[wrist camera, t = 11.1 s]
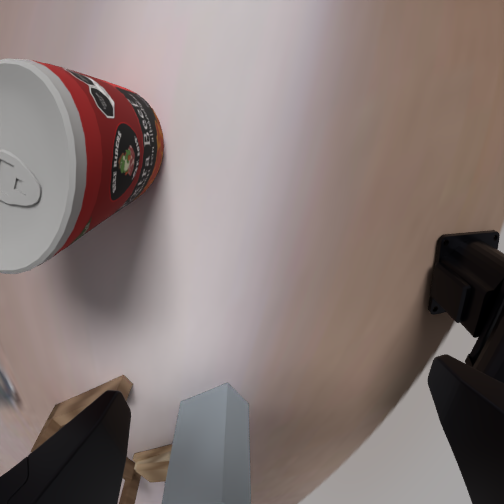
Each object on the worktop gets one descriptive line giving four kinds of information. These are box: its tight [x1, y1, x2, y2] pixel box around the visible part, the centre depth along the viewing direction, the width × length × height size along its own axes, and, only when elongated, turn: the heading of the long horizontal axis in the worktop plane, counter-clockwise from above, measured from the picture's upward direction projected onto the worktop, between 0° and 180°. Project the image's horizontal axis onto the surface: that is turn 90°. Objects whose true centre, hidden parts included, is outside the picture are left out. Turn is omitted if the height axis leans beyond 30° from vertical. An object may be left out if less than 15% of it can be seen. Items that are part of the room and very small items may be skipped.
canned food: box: [0, 59, 164, 274], centre depth 12 cm, size 8×8×11 cm
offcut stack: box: [133, 444, 172, 482], centre depth 27 cm, size 7×4×3 cm, turn 122°
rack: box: [31, 375, 141, 504], centre depth 24 cm, size 12×13×7 cm
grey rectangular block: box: [162, 383, 251, 504], centre depth 20 cm, size 5×3×11 cm, turn 122°
